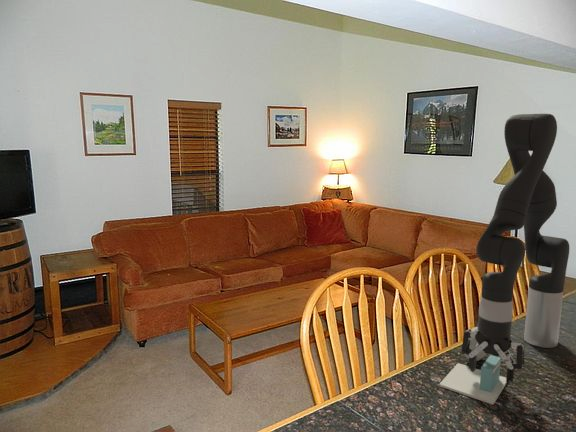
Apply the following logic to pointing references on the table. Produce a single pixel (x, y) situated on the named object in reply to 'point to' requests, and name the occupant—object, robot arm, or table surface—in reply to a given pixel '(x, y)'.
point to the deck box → (490, 373)
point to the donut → (474, 344)
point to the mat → (471, 384)
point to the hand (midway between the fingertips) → (490, 375)
